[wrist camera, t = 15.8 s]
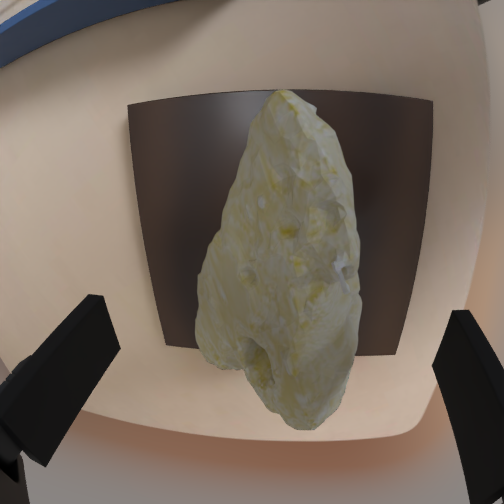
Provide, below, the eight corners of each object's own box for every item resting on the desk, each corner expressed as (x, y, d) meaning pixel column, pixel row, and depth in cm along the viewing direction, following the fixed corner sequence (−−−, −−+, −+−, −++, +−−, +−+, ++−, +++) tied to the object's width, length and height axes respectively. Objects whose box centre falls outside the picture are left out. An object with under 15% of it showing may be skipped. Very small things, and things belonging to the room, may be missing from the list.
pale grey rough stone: (292, 361, 26) (463, 385, 13) (219, 404, 22) (389, 485, 9) (232, 184, 25) (389, 91, 12) (145, 205, 21) (271, 74, 8)
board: (424, 101, 16) (433, 100, 14) (391, 342, 23) (395, 354, 22) (138, 104, 18) (127, 105, 17) (172, 334, 26) (165, 345, 24)
